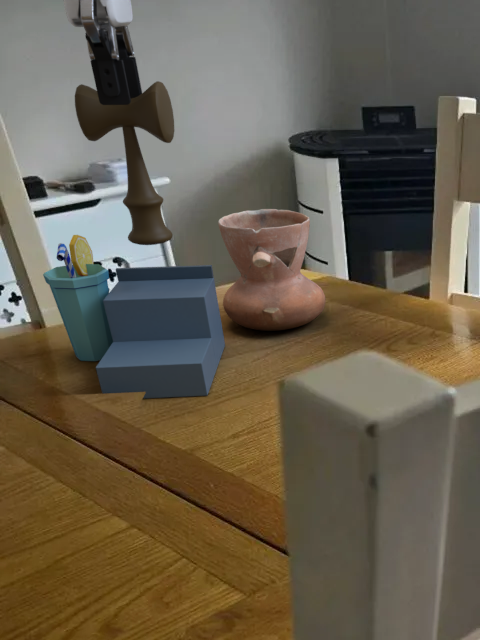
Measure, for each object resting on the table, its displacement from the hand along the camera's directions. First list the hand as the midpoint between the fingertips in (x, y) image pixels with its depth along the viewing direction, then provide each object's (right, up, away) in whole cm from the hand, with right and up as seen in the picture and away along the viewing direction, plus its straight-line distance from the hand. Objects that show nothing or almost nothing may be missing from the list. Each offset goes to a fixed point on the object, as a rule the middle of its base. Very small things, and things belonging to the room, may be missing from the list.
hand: (121, 99), depth 91 cm
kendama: (0, -12, +9) cm, 15 cm away
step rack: (+1, -26, +14) cm, 30 cm away
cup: (-11, -23, +18) cm, 31 cm away
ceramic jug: (+11, -15, +30) cm, 35 cm away
